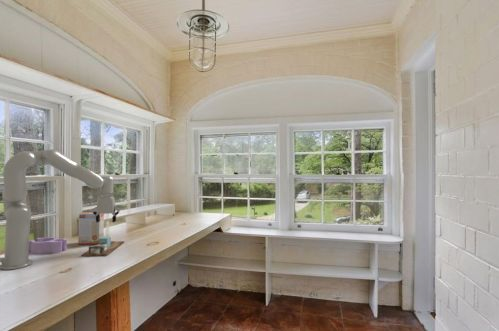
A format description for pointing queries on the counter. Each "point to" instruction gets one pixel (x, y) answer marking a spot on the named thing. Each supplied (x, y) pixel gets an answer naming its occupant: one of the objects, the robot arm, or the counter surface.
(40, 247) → the purple piece
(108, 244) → the stub
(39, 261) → the counter surface
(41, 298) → the counter surface
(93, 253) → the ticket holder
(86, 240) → the cracker box
